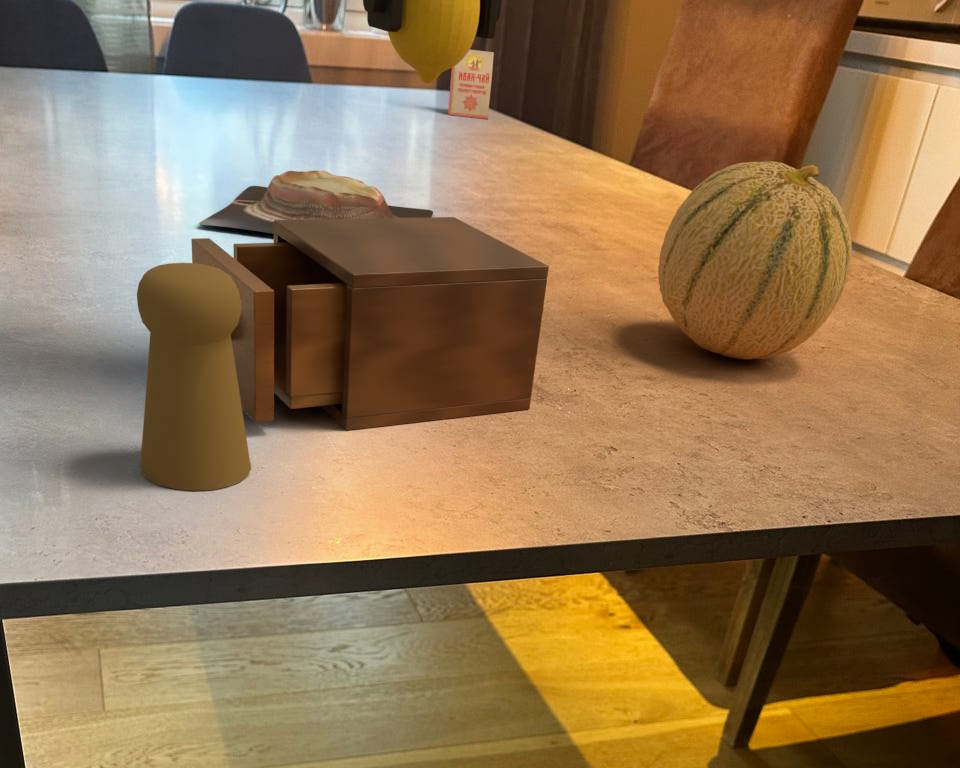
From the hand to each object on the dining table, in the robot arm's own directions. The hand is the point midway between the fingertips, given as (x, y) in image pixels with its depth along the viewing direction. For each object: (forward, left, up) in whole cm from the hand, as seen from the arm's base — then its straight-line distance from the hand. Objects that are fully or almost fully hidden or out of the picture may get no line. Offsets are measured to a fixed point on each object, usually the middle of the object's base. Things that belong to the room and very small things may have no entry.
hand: (431, 29), depth 64 cm
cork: (-18, -9, -22) cm, 30 cm away
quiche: (+13, +44, -22) cm, 51 cm away
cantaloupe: (+30, -1, -22) cm, 37 cm away
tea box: (+69, +113, -22) cm, 134 cm away
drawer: (-8, -1, -21) cm, 22 cm away
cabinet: (-1, -1, -22) cm, 22 cm away
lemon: (0, 0, -3) cm, 3 cm away
